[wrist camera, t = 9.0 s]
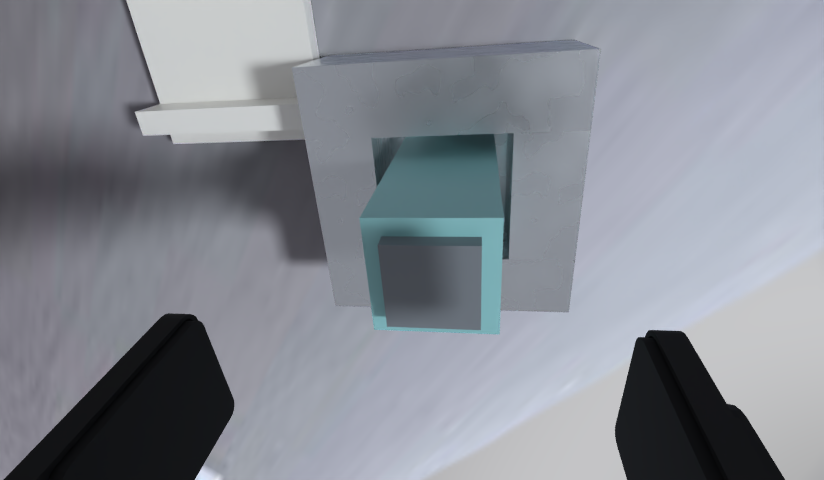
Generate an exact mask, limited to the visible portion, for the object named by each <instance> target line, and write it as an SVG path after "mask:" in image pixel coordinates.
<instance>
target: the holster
mask: <svg viewBox="0 0 824 480" xmlns="http://www.w3.org/2000/svg"><path fill="white" fill-rule="evenodd" d="M126 1H127V4H128V7H129V10H130V13H131V16H132V19H133V22H134V26H135V29H136V32H137V35H138V38H139V41H140V44H141V47H142V50H143V53H144V56H145V59H146V62H147V65H148V68H149V71H150V74H151V77H152V80H153V83H154V86H155V89H156V92H157V96H158V99H159V102H160V104H159V105H155V106H152V107H149V108H146V109H142V110H139V111H136V112H135V114H136V117H137V120H138V122H139V125H140V128H141V131H142V134H143V136H146V135H171V138H172V141H173V144H189V143H219V142H248V141H278V140H305V137H304V132H303V126H302V121H301V116H300V110H299V105H298V99H297V94H296V89H295V83H294V78H293V72H292V67H295V66H298V65H301V64H304V63H307V62H310V61H313V60H316V59H320V57H319V51H318V45H317V38H316V32H315V25H314V19H313V12H312V6H311V0H126Z"/></svg>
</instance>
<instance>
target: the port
mask: <svg viewBox="0 0 824 480" xmlns="http://www.w3.org/2000/svg"><path fill="white" fill-rule="evenodd" d="M600 52H601V49H600V48H597V47H594V46H591V45H589V44H586V43H583V42H580V41H577V40H563V41H547V42H532V43H516V44H501V45H485V46H470V47H454V48H438V49H423V50H407V51H392V52H376V53H361V54H345V55H330V56H326V57H323V58H320V59H316V60H313V61H310V62H307V63H304V64H301V65H298V66H295V67H292V72H293V78H294V83H295V89H296V94H297V99H298V105H299V110H300V116H301V121H302V126H303V132H304V137H305V143H306V148H307V154H308V159H309V164H310V170H311V175H312V181H313V186H314V191H315V197H316V202H317V208H318V213H319V218H320V224H321V229H322V235H323V240H324V245H325V251H326V256H327V262H328V267H329V272H330V278H331V283H332V289H333V294H334V299H335V305H336V306H358V307H371V302H370V294H369V287H368V279H367V272H366V264H365V257H364V249H363V242H362V234H361V227H360V219H359V218H360V216H361V214H362V213H363V211H364V209H365V207H366V206H367V204H368V202H369V200H370V198H371V197H372V195H373V193H374V191H375V190H376V188H377V186H378V184H379V183H380V181H381V179H382V177H383V176H384V174H385V172H386V170H387V169H388V167H389V165H390V163H391V162H392V160H393V158H394V156H395V155H396V153H397V151H398V149H399V148H400V146H401V144H402V142H403V140H404V139H405V137H413V136H443V135H473V134H494V137H495V145H496V154H497V163H498V172H499V180H500V189H501V198H502V207H503V215H504V226H503V253H502V280H501V307H500V310H505V311H541V312H569V305H570V297H571V289H572V280H573V272H574V264H575V256H576V248H577V240H578V231H579V223H580V215H581V207H582V199H583V191H584V182H585V174H586V166H587V158H588V150H589V142H590V133H591V125H592V117H593V109H594V101H595V93H596V84H597V76H598V68H599V60H600Z"/></svg>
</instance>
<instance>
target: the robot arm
mask: <svg viewBox="0 0 824 480" xmlns="http://www.w3.org/2000/svg"><path fill="white" fill-rule="evenodd" d="M233 411H234V399H233V397H232V394H231V392H230V389H229V387H228V384H227V382H226V379H225V377H224V374H223V372H222V369H221V367H220V364H219V362H218V359H217V357H216V354H215V352H214V350H213V347H212V345H211V342H210V340H209V337H208V335H207V332H206V330H205V327H204V325H203V323H202V322H200V321H198V319H197V318H196V317H195V316H194V315H191V314H165V315H164V316H162V317H161V318H160V319H159V320H158V321H157V322H156V323H155V324H154V325H153V326H152V327H151V328H150V329H149V330H148V331H147V332H146V333H145V334H144V335H143V336H142V337H141V338H140V340H139V341H138V342H137V343H136V344H135V345H134V346H133V347H132V348H131V349H130V350H129V351H128V352H127V353H126V354H125V355H124V356H123V357H122V358H121V359H120V360H119V361H118V362H117V363H116V364H115V365H114V366H113V367H112V368H111V369H110V370H109V372H108V373H107V374H106V375H105V376H104V377H103V378H102V379H101V380H100V381H99V382H98V383H97V384H96V385H95V386H94V387H93V388H92V389H91V390H90V391H89V392H88V393H87V394H86V395H85V396H84V397H83V398H82V399H81V400H80V401H79V402H78V403H77V405H76V406H75V407H74V408H73V409H72V410H71V411H70V412H69V413H68V414H67V415H66V416H65V417H64V418H63V419H62V420H61V421H60V422H59V423H58V424H57V425H56V426H55V427H54V428H53V429H52V430H51V431H50V432H49V433H48V434H47V435H46V437H45V438H44V439H43V440H42V441H41V442H40V443H39V444H38V445H37V446H36V447H35V448H34V449H33V450H32V451H31V452H30V453H29V454H28V455H27V456H26V457H25V458H24V459H23V460H22V461H21V462H20V463H19V464H18V465H17V466H16V467H15V469H14V470H13V471H12V472H11V473H10V474H9V475H8V476H7V477H6V478H5V479H4V480H195V478H196V476H197V475H198V473H199V471H200V470H201V468H202V466H203V464H204V463H205V461H206V459H207V458H208V456H209V454H210V452H211V451H212V449H213V447H214V445H215V444H216V442H217V440H218V439H219V437H220V435H221V433H222V432H223V430H224V428H225V427H226V425H227V423H228V421H229V420H230V418H231V416H232V414H233ZM615 437H616V443H617V447H618V450H619V453H620V457H621V460H622V464H623V467H624V470H625V474H626V477H627V480H785V479H784V477H783V476H782V474H781V472H780V471H779V469H778V468H777V466H776V464H775V463H774V461H773V459H772V458H771V456H770V455H769V453H768V451H767V450H766V448H765V446H764V445H763V443H762V442H761V440H760V438H759V437H758V435H757V433H756V432H755V430H754V429H753V427H752V425H751V424H750V422H749V421H748V419H747V417H746V416H745V415H744V414H743V412H742V411H741V410H740V409H738V408H737V407H736V406H735V405H730V404H726V402H725V400H724V399H723V397H722V395H721V394H720V392H719V390H718V389H717V387H716V385H715V383H714V382H713V380H712V378H711V377H710V375H709V373H708V371H707V370H706V368H705V366H704V365H703V363H702V361H701V359H700V358H699V356H698V354H697V353H696V351H695V349H694V348H693V346H692V344H691V342H690V341H689V339H688V337H687V336H686V335H685V333H683V332H682V331H661V330H649V331H648V332H647V333H646V336H645V337H638V338H637V340H636V343H635V347H634V351H633V355H632V359H631V363H630V367H629V372H628V376H627V380H626V384H625V388H624V393H623V396H622V401H621V405H620V409H619V413H618V418H617V421H616V426H615Z"/></svg>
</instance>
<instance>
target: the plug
mask: <svg viewBox="0 0 824 480" xmlns="http://www.w3.org/2000/svg"><path fill="white" fill-rule="evenodd" d="M359 219H360V227H361V234H362V242H363V249H364V257H365V264H366V272H367V279H368V287H369V294H370V302H371V309H372V316H373V324H374V330H399V331H425V332H451V333H477V334H500V307H501V280H502V253H503V226H504V215H503V207H502V198H501V189H500V180H499V172H498V163H497V154H496V145H495V137H494V134H473V135H443V136H413V137H405V139H404V140H403V142H402V144H401V146H400V148H399V149H398V151H397V153H396V155H395V156H394V158H393V160H392V162H391V163H390V165H389V167H388V169H387V170H386V172H385V174H384V176H383V177H382V179H381V181H380V183H379V184H378V186H377V188H376V190H375V191H374V193H373V195H372V197H371V198H370V200H369V202H368V204H367V206H366V207H365V209H364V211H363V213H362V214H361V216H360V218H359Z"/></svg>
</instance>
